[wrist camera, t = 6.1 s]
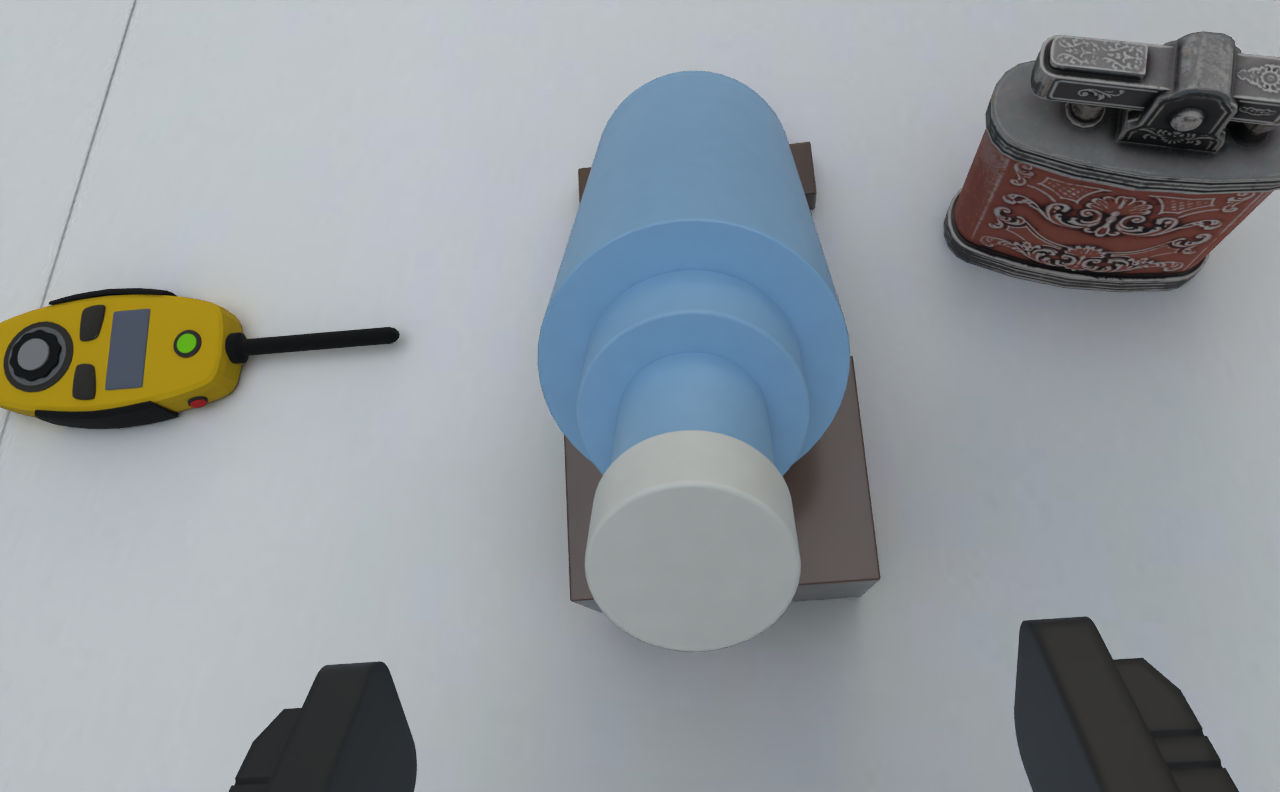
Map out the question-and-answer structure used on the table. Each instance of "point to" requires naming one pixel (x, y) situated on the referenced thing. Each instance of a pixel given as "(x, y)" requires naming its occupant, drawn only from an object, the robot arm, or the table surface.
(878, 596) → the table surface
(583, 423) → the bottle
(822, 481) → the dark brown cuboids
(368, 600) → the table surface
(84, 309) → the yellow walkie talkie
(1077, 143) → the lighter
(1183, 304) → the table surface
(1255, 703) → the table surface
